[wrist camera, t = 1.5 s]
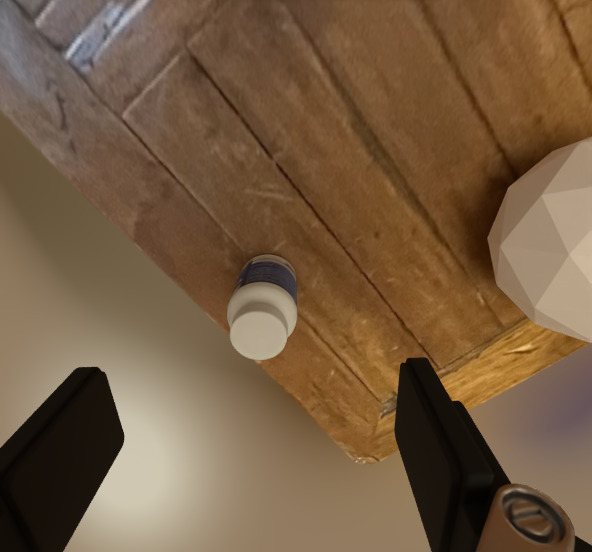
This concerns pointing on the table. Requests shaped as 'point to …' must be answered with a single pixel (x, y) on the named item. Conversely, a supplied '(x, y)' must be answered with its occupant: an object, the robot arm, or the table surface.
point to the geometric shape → (549, 242)
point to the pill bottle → (263, 307)
